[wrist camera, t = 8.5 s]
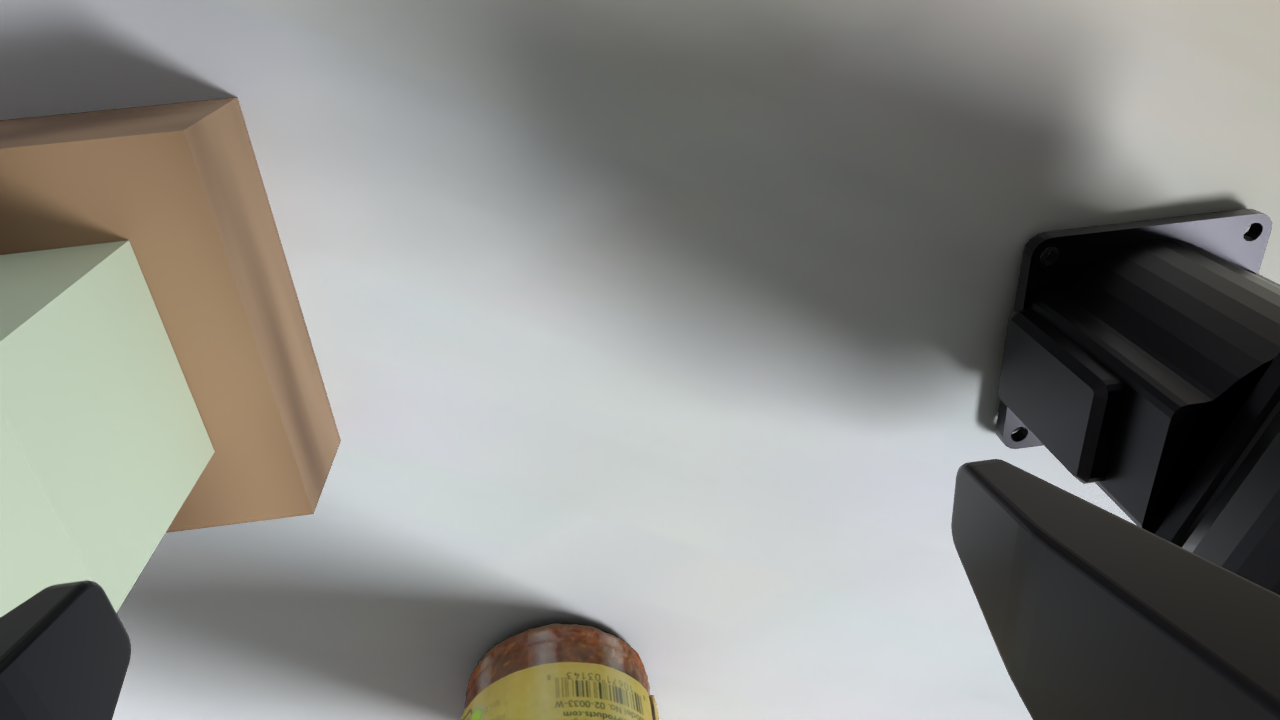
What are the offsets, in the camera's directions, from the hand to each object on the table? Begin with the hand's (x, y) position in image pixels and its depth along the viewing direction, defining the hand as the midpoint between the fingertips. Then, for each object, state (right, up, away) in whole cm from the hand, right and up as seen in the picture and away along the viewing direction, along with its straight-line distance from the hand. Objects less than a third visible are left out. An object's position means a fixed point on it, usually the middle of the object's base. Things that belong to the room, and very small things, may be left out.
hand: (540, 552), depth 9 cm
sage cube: (-11, +2, +8) cm, 14 cm away
